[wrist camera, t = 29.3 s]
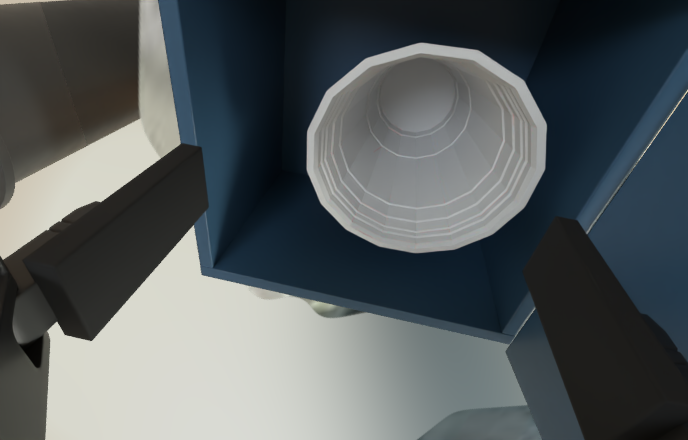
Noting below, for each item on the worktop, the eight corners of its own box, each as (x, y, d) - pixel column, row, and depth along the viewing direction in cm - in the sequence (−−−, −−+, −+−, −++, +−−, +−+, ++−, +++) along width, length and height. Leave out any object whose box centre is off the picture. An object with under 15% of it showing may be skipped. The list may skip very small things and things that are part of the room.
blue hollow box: (276, 171, 32) (201, 275, 21) (279, -75, 22) (136, -127, 11) (476, 212, 31) (509, 344, 20) (581, -28, 21) (773, -31, 10)
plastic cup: (326, 139, 28) (282, 224, 19) (369, -12, 22) (337, -2, 12) (449, 183, 29) (469, 287, 19) (526, 47, 23) (613, 100, 13)
